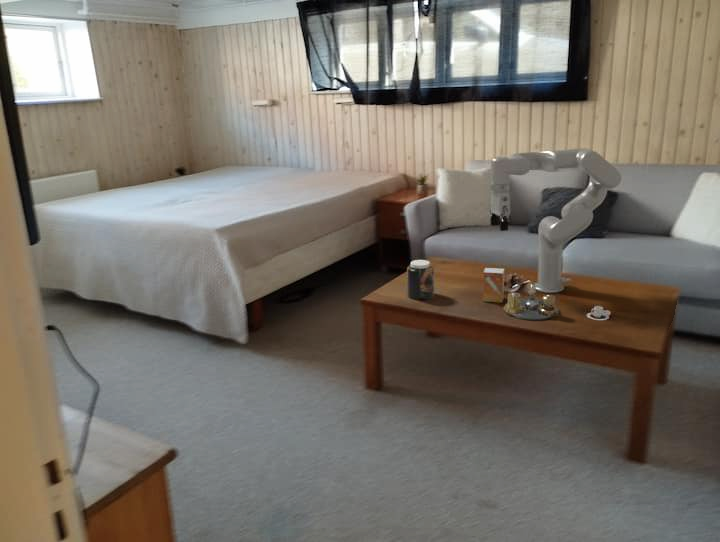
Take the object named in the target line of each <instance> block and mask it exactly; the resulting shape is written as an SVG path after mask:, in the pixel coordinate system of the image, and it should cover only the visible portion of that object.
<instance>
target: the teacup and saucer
mask: <svg viewBox="0 0 720 542" xmlns="http://www.w3.org/2000/svg"><path fill="white" fill-rule="evenodd" d="M590 310H591V312H588V313H586V317H587V318H589V319H591V320H595V321H607V320H608V319H609V318H610V316H611V311H610V310H605V309H604V307H602V305H601V306H600V305H595V306H594V307H593V308H592V309H590ZM591 315H593V316H594V317H595V318H593V317H592V316H591ZM601 317H604V318H601Z"/></svg>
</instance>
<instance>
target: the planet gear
mask: <svg viewBox="0 0 720 542" xmlns="http://www.w3.org/2000/svg"><path fill="white" fill-rule="evenodd" d="M512 293H516V296H512ZM520 299H522V297H521V294H520V293H519V292H508V293H507V303H508V304H507V303H505V305H503V311H505V313H507V314H508V313H513V314H516V313H522V311H524V306H521V304H520Z"/></svg>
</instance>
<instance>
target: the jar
mask: <svg viewBox="0 0 720 542" xmlns="http://www.w3.org/2000/svg"><path fill="white" fill-rule="evenodd" d="M406 292H407V294H406V295H407V297H408V298H409V299H411V300H416V301H427V300H430V299H433V298H434V297H435V270H434V266H433V265H431V261H429V260H425V259H415V260H412V261H411V262H410V264H409V265H408V266H407V268H406Z"/></svg>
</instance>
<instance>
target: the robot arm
mask: <svg viewBox="0 0 720 542" xmlns="http://www.w3.org/2000/svg"><path fill="white" fill-rule="evenodd" d="M490 162H491V163H490V192H491V193H490V194H491V195H490V204H489V211H490V212H489V215H490V226H492V227H493V226H498V225H499V224H500V225H499V230H500V231H501V232H503V231H504V232H505V231H509V221H510V220H509V219H510V216H511V215H510V214H511V198H510V179H511V178H510V177H511V175H513V176H524V175H527V174H528V173H529V172H530V171H541V172H542V171H543V172H547V173H557V172H558V173H559V172H567V171H576V170H577V171H579V170H582V171H584V172H585V173H586V174H588V176H589V183H588V185H587V187H586V188H585V190H583V191H582V192H581V193H580V194H579V195H577V196H576V197H575V198H573V199H572V200H570V201H569V202H568V203H566V204H565V205H563V207H562V209H561V211H560V212H561V214H560V215H561V217H562V218H561V219H560V218H558V217H557V216H551V215H550V216H545V217H544V218H542V219H541V221H540V222H539V224H538V229H537V230H538V261H537V262H538V263H537V282H535V283H533V284H534V285H535V290H536V291H538V292H543V293H549V294H551V293H560V292H562V291H563V290H564V289H565V286H564V284H569V283H571V282H572V279H571V278H568V277H567V278H566V277H561V276H562V260H563V245H564V244H566V243H568V242H569V241H571V240H572V239H573V238H575V237H576V236H578V235H579V234H580V233H581V232H583V231H585V230H586V229H587V228H589V226H590V225H591V224H592V222H593V218H594V213H593V211H594V210H595V209H596V208H598V207H599V206H600V205H602V203H603V201H604V200H605V198H606V197H607V193H608V190H614V189H615V188H617V187H618V186H619V185H620V184H621V181H622V174H621V172H620V170H618V168H617V167H615V166H614V165H613V164H612V163H610V162H609V161H608V160H606V159H605V158H604V157H603V156H602V155H601V154H600V153H598V152H597V151H595V150H592V149H588V148H583V147H581V148H570V149H563V150H559V149H558V150H549V151H547V150H546V151H529V152H521V153H519V152H518V153H513V154H510V155H509V156H507V157H506V156H496V157H492V159H491V161H490ZM499 218H500V223H499Z"/></svg>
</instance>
